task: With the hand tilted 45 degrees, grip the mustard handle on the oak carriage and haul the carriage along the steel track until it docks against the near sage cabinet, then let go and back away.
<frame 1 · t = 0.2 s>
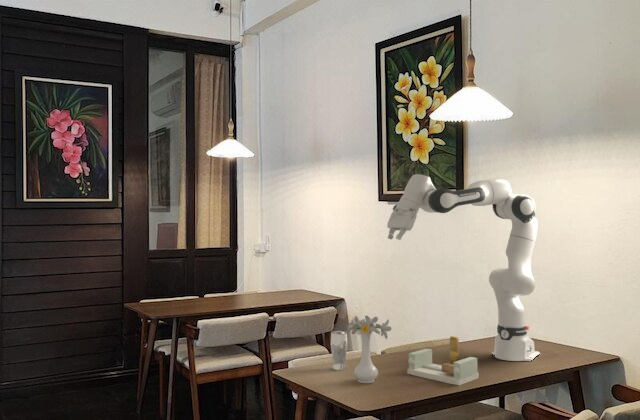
hand: (393, 239, 268), 53 cm above the table, tool tilted 25°, fingers open, 8 cm apart
beer glass: (339, 369, 267), on the table
flower vase: (366, 381, 249), on the table
track: (442, 375, 256), on the table
carriage: (454, 353, 252), point 10 cm above the table, slide at 5.5 cm
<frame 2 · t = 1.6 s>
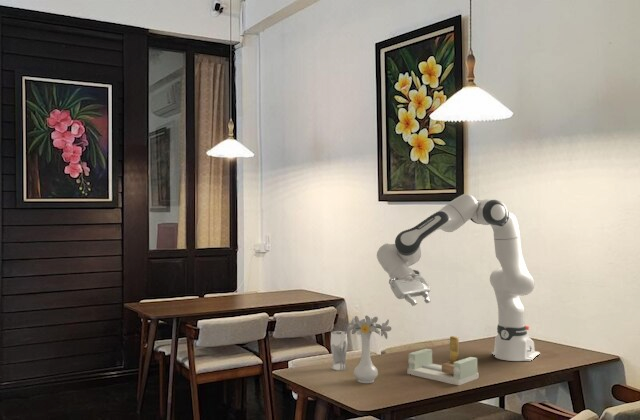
hand: (422, 303, 262), 28 cm above the table, tool tilted 45°, fingers open, 8 cm apart
nothing on the table moved.
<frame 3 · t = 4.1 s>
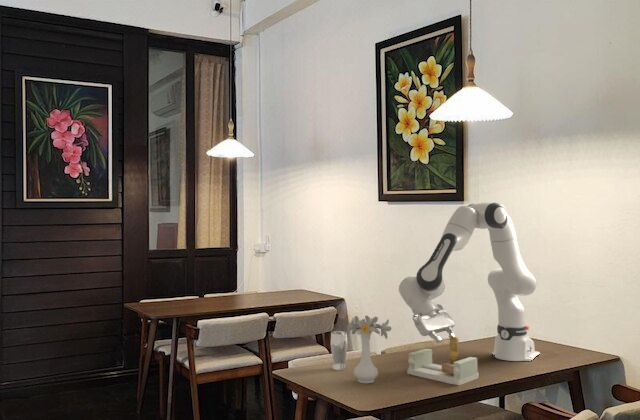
hand: (446, 340, 254), 14 cm above the table, tool tilted 45°, fingers open, 8 cm apart
nothing on the table moved.
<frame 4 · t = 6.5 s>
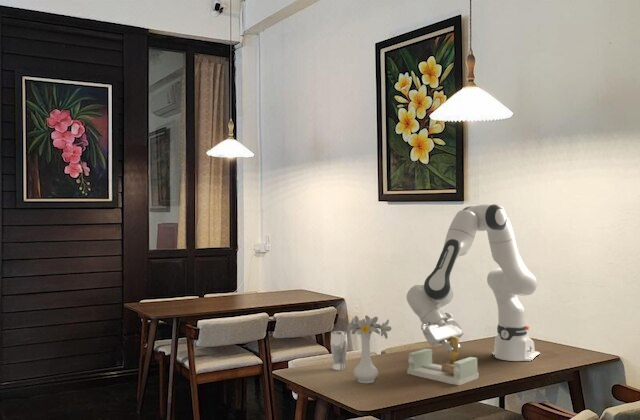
hand: (455, 349, 251), 11 cm above the table, tool tilted 45°, fingers closed on carriage, 3 cm apart
carriage: (454, 353, 252), point 10 cm above the table, slide at 5.5 cm, touching gripper
everything else where it was.
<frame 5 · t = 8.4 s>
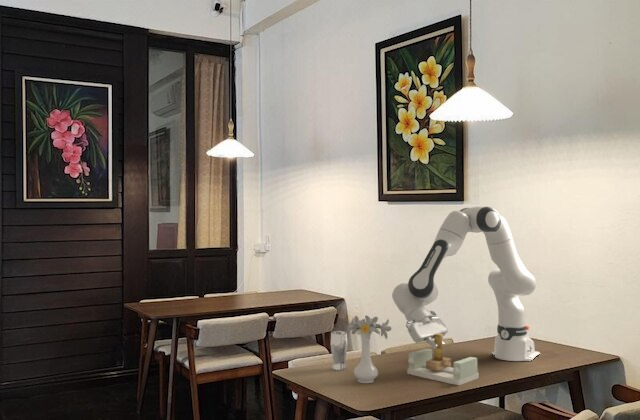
hand: (439, 346, 256), 11 cm above the table, tool tilted 45°, fingers closed on carriage, 3 cm apart
carriage: (438, 350, 257), point 10 cm above the table, slide at -1.8 cm, touching gripper
everything else where it was.
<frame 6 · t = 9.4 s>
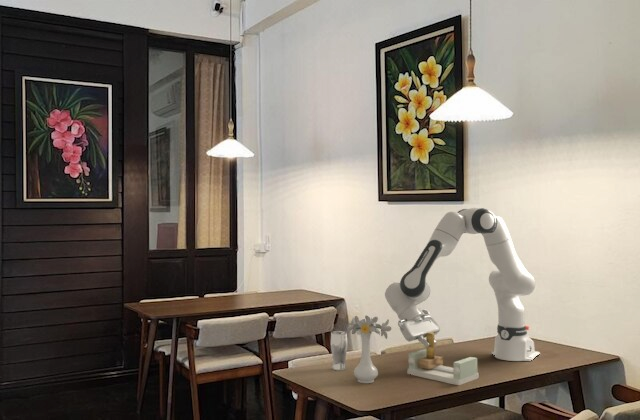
hand: (431, 345, 259), 11 cm above the table, tool tilted 45°, fingers closed on carriage, 3 cm apart
carriage: (430, 349, 260), point 10 cm above the table, slide at -5.7 cm, touching gripper
everything else where it was.
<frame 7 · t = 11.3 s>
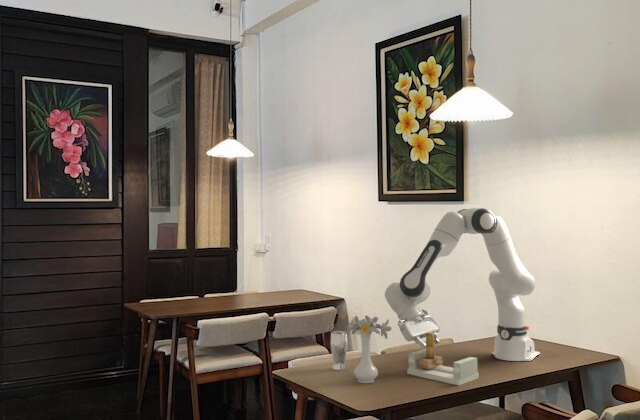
hand: (431, 345, 259), 11 cm above the table, tool tilted 45°, fingers open, 8 cm apart
carriage: (430, 349, 260), point 10 cm above the table, slide at -5.8 cm
everything else where it was.
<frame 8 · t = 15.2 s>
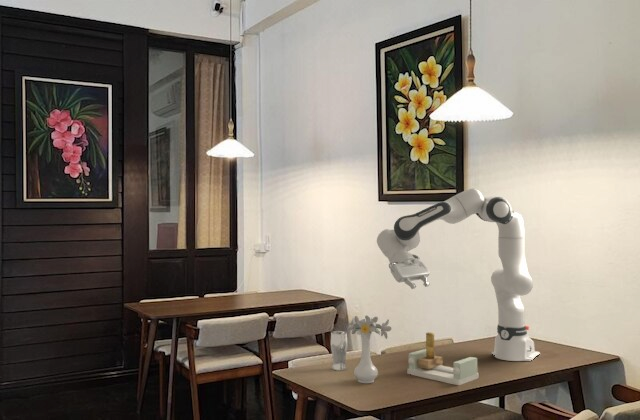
hand: (421, 286, 270), 33 cm above the table, tool tilted 45°, fingers open, 8 cm apart
nothing on the table moved.
at the end: carriage slide at -5.8 cm; the gripper is holding nothing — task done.
